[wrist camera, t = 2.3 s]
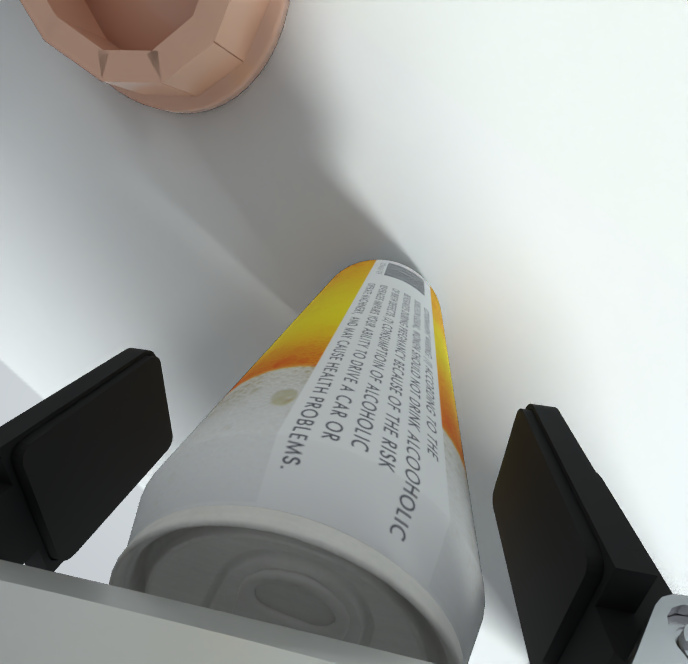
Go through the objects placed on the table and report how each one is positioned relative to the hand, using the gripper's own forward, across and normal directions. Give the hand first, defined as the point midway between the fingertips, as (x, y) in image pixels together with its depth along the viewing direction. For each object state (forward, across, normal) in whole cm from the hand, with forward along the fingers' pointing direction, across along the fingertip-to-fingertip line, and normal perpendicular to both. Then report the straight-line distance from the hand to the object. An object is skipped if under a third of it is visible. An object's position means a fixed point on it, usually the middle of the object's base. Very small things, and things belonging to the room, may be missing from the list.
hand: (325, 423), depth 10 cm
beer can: (+10, -1, +1) cm, 10 cm away
